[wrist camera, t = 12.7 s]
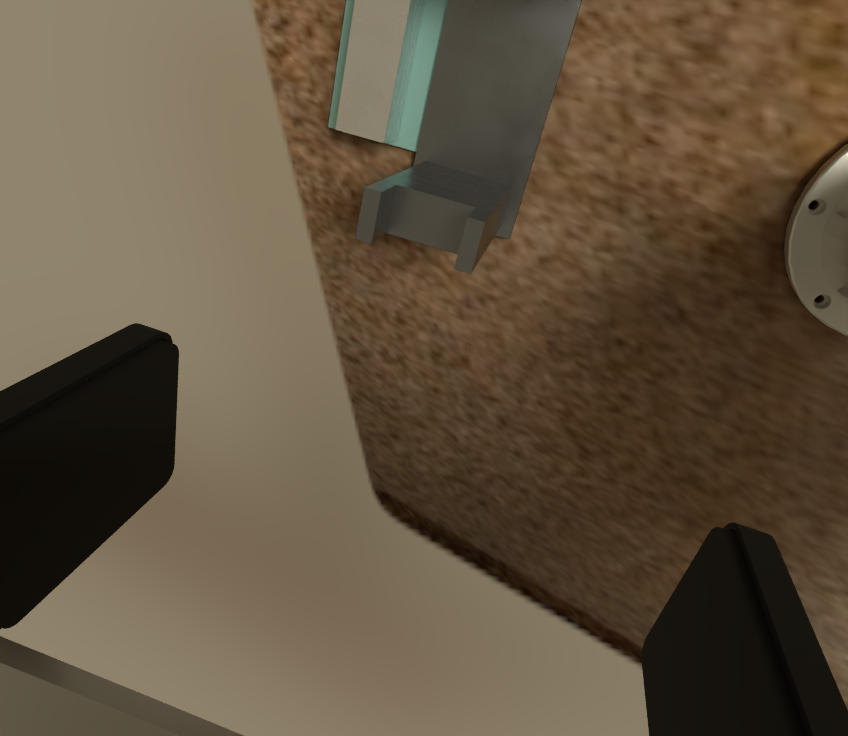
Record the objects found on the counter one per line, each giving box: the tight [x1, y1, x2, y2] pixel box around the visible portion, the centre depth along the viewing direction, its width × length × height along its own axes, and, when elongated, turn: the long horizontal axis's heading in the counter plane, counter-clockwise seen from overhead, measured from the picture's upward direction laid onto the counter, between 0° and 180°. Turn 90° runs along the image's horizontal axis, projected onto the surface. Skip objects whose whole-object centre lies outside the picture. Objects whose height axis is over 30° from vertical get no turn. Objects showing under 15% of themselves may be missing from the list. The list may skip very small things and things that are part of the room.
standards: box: [355, 0, 582, 274], centre depth 29 cm, size 7×17×12 cm, turn 167°
